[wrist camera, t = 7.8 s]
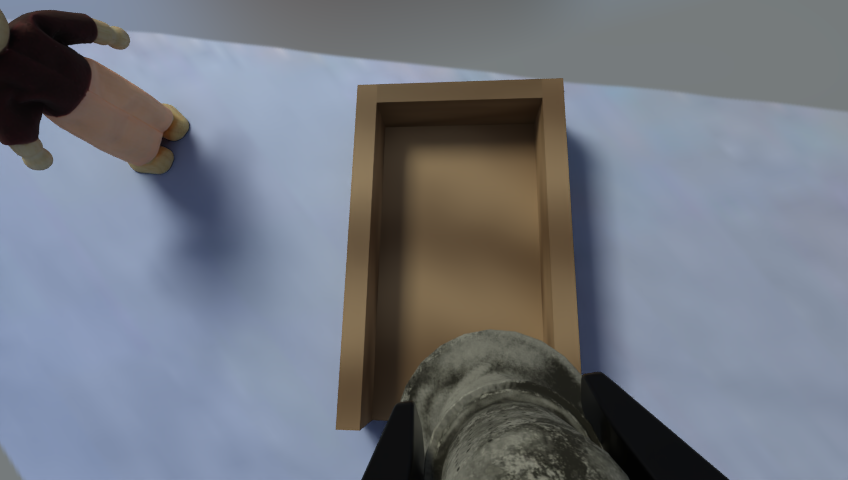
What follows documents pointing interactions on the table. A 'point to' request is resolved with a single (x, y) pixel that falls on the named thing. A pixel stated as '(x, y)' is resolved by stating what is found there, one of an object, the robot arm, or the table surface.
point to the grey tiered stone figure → (505, 412)
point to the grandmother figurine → (77, 93)
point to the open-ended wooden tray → (453, 230)
